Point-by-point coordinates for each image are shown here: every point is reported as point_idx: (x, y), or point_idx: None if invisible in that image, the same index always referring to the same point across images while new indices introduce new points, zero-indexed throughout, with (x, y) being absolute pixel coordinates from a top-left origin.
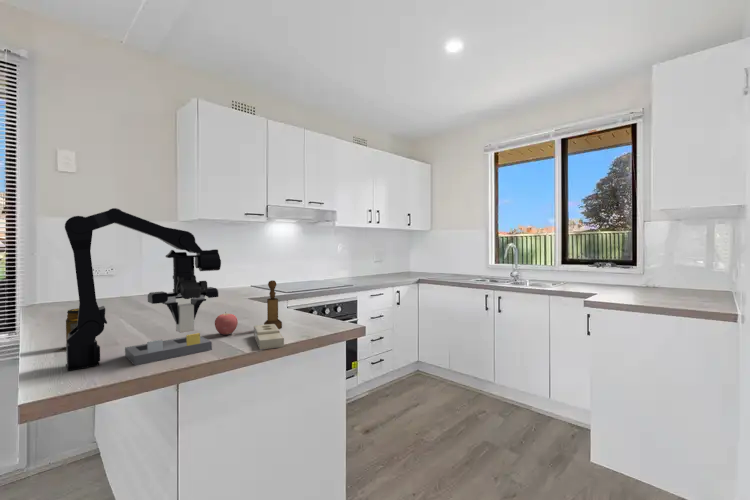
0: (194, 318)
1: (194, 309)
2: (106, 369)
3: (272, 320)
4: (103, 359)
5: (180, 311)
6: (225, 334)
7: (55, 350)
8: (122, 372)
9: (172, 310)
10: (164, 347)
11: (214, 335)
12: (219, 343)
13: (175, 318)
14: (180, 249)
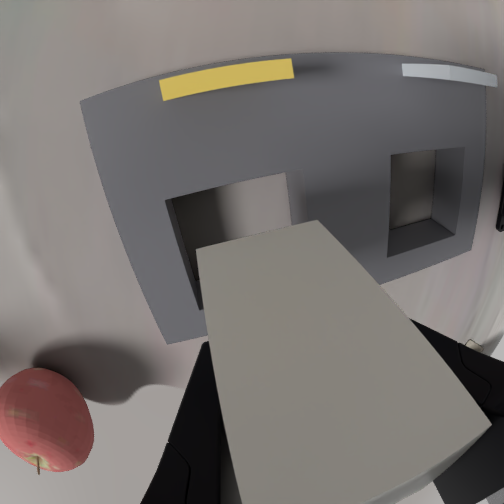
0: (198, 365)
1: (214, 464)
2: (501, 99)
3: None
4: (483, 229)
5: (439, 369)
6: (50, 370)
7: (481, 351)
8: (477, 21)
9: (501, 366)
10: (386, 125)
11: (99, 387)
12: (51, 235)
13: (413, 322)
14: None
